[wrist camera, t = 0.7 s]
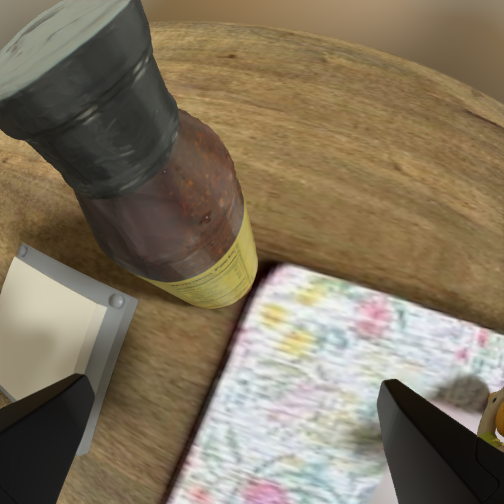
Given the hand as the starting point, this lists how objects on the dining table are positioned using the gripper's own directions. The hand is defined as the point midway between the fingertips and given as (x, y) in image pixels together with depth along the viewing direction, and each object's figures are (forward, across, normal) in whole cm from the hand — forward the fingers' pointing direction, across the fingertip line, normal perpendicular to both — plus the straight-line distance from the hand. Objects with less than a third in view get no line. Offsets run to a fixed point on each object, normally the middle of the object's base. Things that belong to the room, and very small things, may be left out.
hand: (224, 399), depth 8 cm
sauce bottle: (+15, +3, +2) cm, 15 cm away
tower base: (+11, +18, +6) cm, 22 cm away
